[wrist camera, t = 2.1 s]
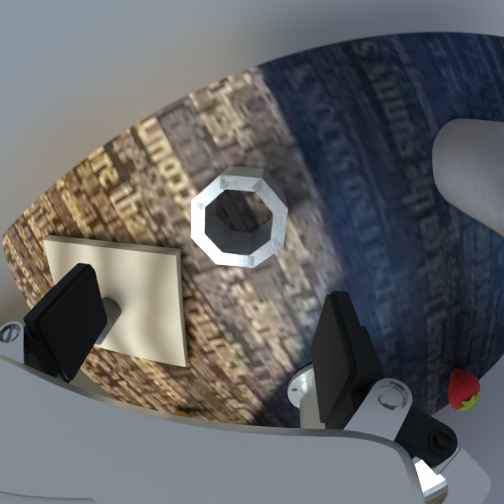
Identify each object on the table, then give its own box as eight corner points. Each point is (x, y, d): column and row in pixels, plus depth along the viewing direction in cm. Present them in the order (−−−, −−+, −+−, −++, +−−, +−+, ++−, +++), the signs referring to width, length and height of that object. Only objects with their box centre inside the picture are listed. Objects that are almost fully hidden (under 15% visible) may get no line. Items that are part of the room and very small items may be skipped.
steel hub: (287, 170, 23) (291, 181, 19) (278, 244, 26) (279, 270, 22) (207, 164, 23) (192, 173, 19) (204, 237, 26) (191, 261, 22)
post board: (180, 248, 27) (157, 283, 21) (188, 358, 34) (176, 396, 28) (50, 235, 27) (17, 258, 21) (78, 333, 34) (57, 361, 28)
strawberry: (439, 387, 36) (456, 430, 27) (438, 367, 33) (460, 414, 24) (465, 372, 34) (485, 412, 25) (467, 349, 32) (492, 393, 23)
